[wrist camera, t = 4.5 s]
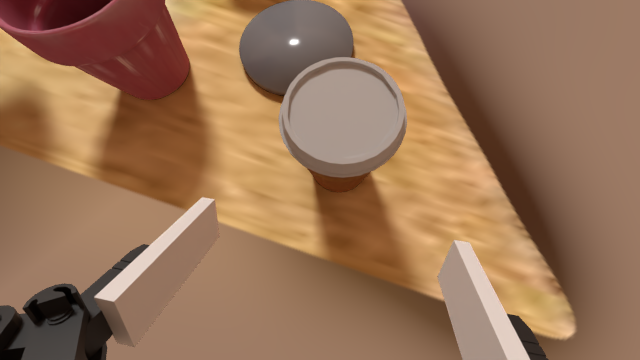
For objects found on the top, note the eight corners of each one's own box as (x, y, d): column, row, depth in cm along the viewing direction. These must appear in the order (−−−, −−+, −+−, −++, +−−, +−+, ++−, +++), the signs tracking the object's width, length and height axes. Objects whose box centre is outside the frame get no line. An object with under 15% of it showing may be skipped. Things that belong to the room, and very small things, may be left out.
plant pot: (83, 93, 34) (-57, 2, 22) (147, 18, 37) (57, -97, 25) (168, 134, 32) (64, 57, 19) (228, 50, 35) (172, -61, 23)
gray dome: (220, 68, 34) (216, 62, 33) (279, -7, 38) (278, -14, 37) (317, 115, 31) (316, 110, 30) (372, 29, 35) (373, 22, 34)
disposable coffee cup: (280, 169, 30) (247, 113, 18) (335, 114, 31) (336, 31, 20) (343, 224, 27) (350, 200, 16) (398, 162, 29) (440, 100, 18)
